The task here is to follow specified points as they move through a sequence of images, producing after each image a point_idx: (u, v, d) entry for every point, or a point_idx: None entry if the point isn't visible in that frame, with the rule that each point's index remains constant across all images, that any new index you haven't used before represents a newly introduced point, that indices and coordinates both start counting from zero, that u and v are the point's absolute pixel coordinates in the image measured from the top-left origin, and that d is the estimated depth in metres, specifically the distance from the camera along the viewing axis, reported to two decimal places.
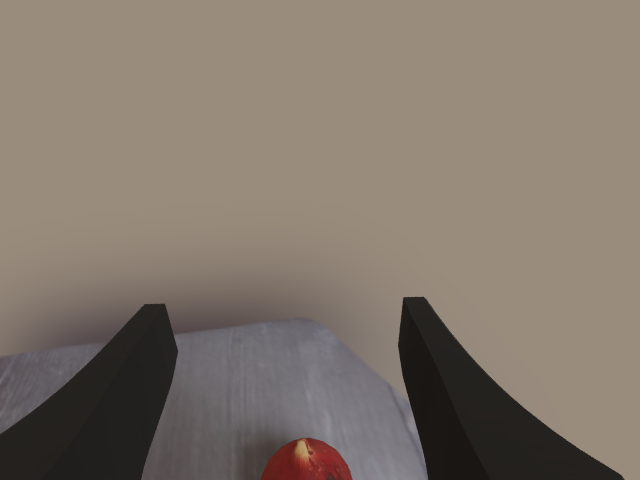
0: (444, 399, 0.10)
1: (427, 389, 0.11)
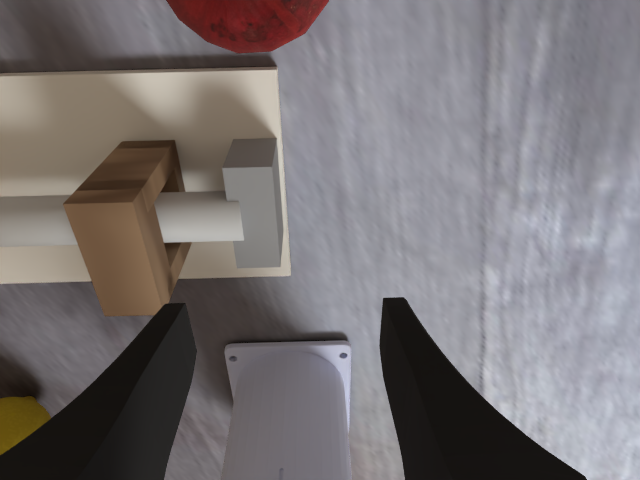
0: (417, 400, 0.10)
1: (403, 389, 0.11)
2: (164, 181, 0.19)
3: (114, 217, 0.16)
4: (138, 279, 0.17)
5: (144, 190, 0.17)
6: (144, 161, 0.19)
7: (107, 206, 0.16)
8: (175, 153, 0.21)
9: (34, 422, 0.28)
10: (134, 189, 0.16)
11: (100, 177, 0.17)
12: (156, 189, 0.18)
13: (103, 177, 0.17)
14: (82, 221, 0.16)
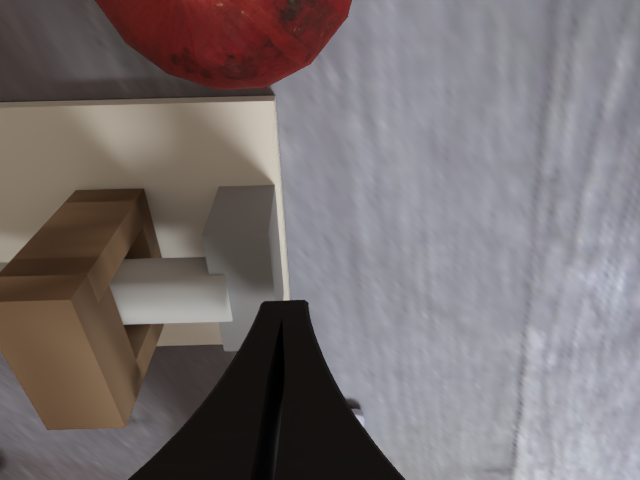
0: None
1: None
2: (126, 248, 0.14)
3: (46, 317, 0.11)
4: (87, 389, 0.13)
5: (92, 273, 0.12)
6: (99, 224, 0.14)
7: (36, 304, 0.11)
8: (145, 205, 0.16)
9: None
10: (77, 275, 0.12)
11: (35, 252, 0.13)
12: (113, 264, 0.13)
13: (39, 252, 0.13)
14: (2, 323, 0.11)
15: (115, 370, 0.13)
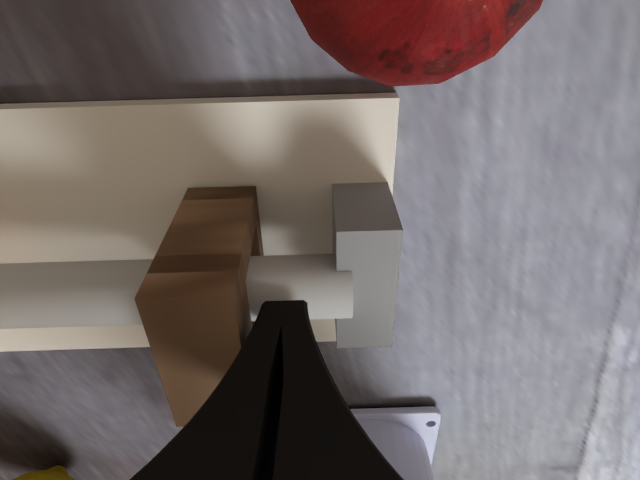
0: None
1: None
2: (251, 245, 0.14)
3: (203, 314, 0.11)
4: None
5: (239, 270, 0.12)
6: (226, 221, 0.14)
7: (196, 300, 0.11)
8: (256, 203, 0.16)
9: None
10: (228, 271, 0.12)
11: (175, 249, 0.13)
12: (246, 261, 0.13)
13: (179, 249, 0.13)
14: (159, 319, 0.12)
15: None
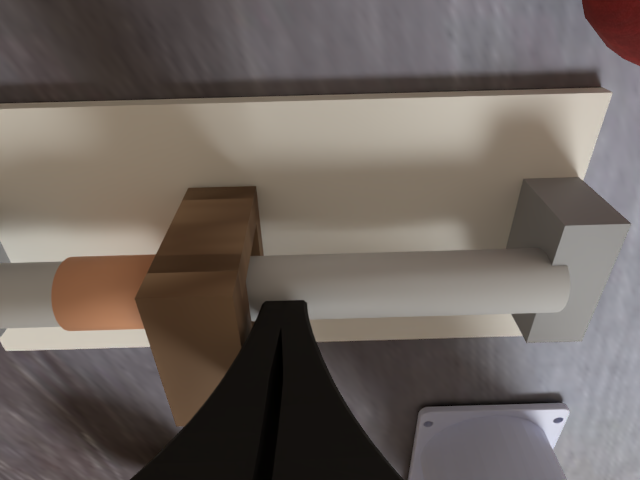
0: None
1: None
2: (251, 245, 0.14)
3: (204, 314, 0.11)
4: None
5: (239, 269, 0.12)
6: (227, 220, 0.14)
7: (196, 300, 0.11)
8: (257, 203, 0.16)
9: None
10: (228, 271, 0.12)
11: (175, 249, 0.13)
12: (246, 261, 0.14)
13: (179, 249, 0.13)
14: (159, 319, 0.12)
15: None
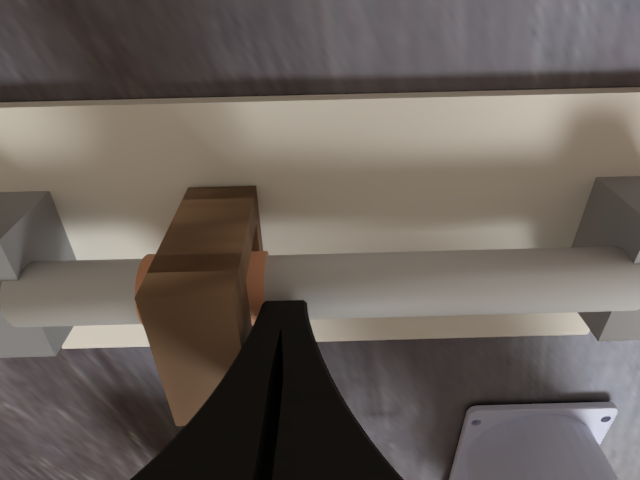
0: None
1: None
2: (251, 245, 0.14)
3: (204, 313, 0.11)
4: None
5: (239, 269, 0.12)
6: (227, 220, 0.14)
7: (196, 300, 0.11)
8: (256, 202, 0.16)
9: None
10: (228, 271, 0.12)
11: (175, 248, 0.13)
12: (246, 261, 0.13)
13: (179, 248, 0.13)
14: (159, 318, 0.11)
15: None
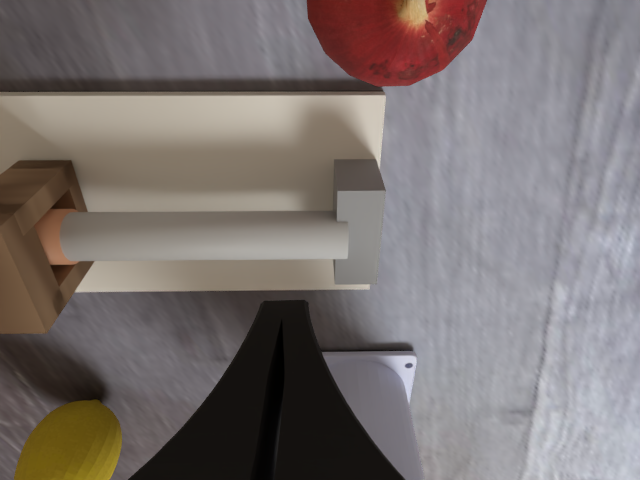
0: None
1: None
2: (52, 202, 0.19)
3: None
4: (16, 300, 0.18)
5: (18, 214, 0.17)
6: (30, 183, 0.19)
7: None
8: (72, 173, 0.21)
9: (107, 426, 0.29)
10: (6, 214, 0.17)
11: None
12: (38, 211, 0.18)
13: None
14: None
15: (38, 288, 0.18)
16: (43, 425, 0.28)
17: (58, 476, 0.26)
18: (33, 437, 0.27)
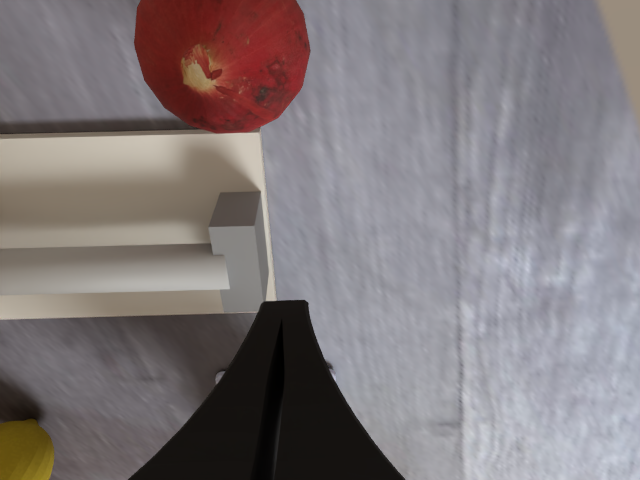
0: None
1: None
2: None
3: None
4: None
5: None
6: None
7: None
8: None
9: (35, 446, 0.30)
10: None
11: None
12: None
13: None
14: None
15: None
16: None
17: None
18: None
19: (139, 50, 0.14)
